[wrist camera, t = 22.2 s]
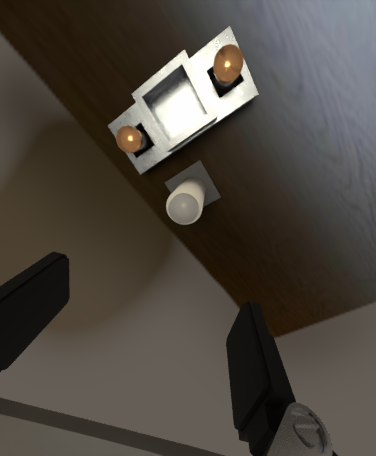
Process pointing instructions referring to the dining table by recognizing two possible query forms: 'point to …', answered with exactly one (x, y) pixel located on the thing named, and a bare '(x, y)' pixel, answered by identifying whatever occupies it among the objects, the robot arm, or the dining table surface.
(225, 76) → the plunger
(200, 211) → the cylinder
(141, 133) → the plunger
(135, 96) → the housing
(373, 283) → the dining table surface
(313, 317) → the dining table surface
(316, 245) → the dining table surface
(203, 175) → the mat
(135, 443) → the robot arm
